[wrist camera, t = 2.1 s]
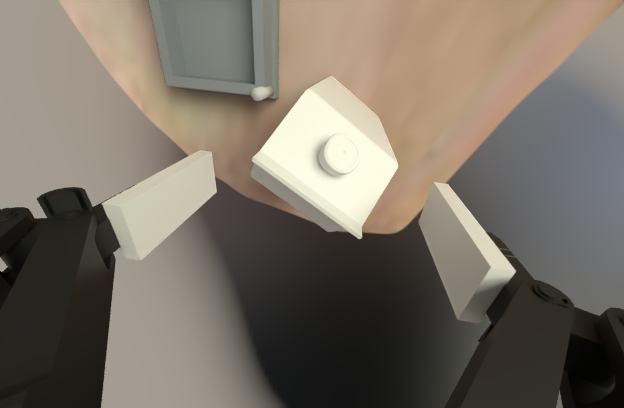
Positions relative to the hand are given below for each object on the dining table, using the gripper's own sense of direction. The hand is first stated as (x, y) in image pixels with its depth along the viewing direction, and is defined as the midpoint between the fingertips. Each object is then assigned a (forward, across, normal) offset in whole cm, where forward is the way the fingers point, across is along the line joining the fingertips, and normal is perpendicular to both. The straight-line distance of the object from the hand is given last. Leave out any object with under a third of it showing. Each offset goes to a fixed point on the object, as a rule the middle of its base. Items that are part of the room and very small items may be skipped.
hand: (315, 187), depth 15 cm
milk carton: (+17, 0, 0) cm, 17 cm away
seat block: (+17, -13, +8) cm, 23 cm away
